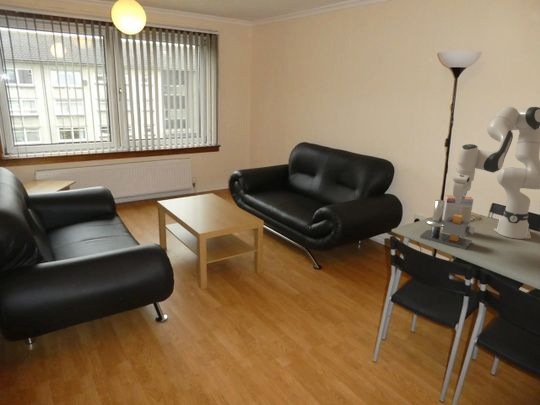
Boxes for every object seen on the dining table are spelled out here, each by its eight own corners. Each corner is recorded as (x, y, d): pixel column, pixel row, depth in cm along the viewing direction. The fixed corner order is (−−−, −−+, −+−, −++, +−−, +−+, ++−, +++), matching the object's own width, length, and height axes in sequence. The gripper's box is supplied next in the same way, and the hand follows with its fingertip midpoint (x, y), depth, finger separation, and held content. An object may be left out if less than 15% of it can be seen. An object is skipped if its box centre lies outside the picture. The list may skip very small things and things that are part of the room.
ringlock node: (427, 231, 230) (432, 196, 224) (473, 243, 215) (480, 205, 208) (420, 237, 221) (425, 201, 215) (467, 250, 206) (474, 211, 200)
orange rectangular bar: (450, 237, 218) (454, 213, 213) (458, 239, 215) (462, 215, 211) (449, 239, 215) (453, 215, 211) (457, 241, 213) (461, 216, 209)
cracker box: (465, 230, 234) (471, 196, 228) (467, 233, 228) (474, 199, 222) (440, 227, 237) (445, 194, 231) (442, 231, 232) (447, 197, 225)
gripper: (463, 171, 214) (459, 195, 218) (452, 178, 199) (448, 204, 203) (476, 173, 210) (471, 198, 214) (465, 180, 195) (461, 207, 200)
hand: (460, 201), depth 209 cm, fingers open, 8 cm apart
